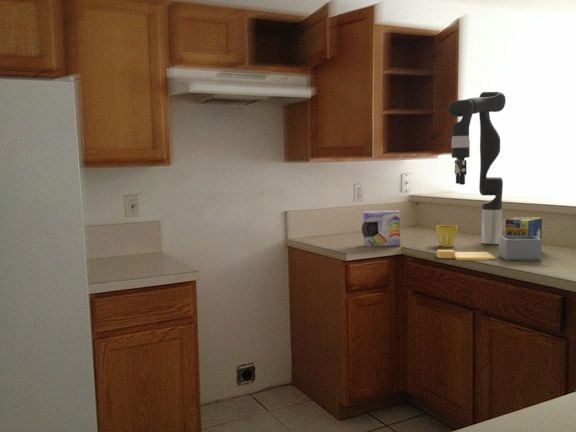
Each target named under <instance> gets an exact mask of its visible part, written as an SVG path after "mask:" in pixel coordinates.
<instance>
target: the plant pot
mask: <svg viewBox="0 0 576 432" xmlns="http://www.w3.org/2000/svg"><path fill="white" fill-rule="evenodd" d="M458 230H459V226H458V225H448V224H445V225H444V224H441V225H436V226H435V233H436V234H437V239H438V243H439V246H440V247H443V248H444V247H447V248H448V247H449V248H450V247H451V248H452V247H454V246H455V240H456V237H457V234H458Z"/></svg>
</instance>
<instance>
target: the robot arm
mask: <svg viewBox="0 0 576 432" xmlns="http://www.w3.org/2000/svg"><path fill="white" fill-rule="evenodd" d="M506 99H507V98H506V96H505V94H504V93H503V92H501V91H483V92H481V93H480V94H479V97H471V98H467V99H459V100H458V99H457V100H453V101H450V103H449V104H448V107H447V112H448V114H449V115H450V116H451V117H453V118H459V117H461V119H460V120H459V121H458V122H454V123H453V124H452V126H451V127H452V129H451V130H452V131H451V133H452V134H451V135H452V136H451V158H452V159H455V160H454V174H455V183H456V184H459V185H460V186H461V185H465V184H466V175H467V160H465V159H466V158H470V147H471V144H470V125H471V120H472V119H473V115H475V114H479V128H480V130H479V156H480V157H479V158H480V169H479V171H480V172H479V186H478V188H479V189H478V190H479V194H480V195H481V196H495V197H494V198H493V199H491V200H489V201H486V202H483V203H482V205H481V210H482V211H481V212H482V213H481V215H482V216H481V243H482V244H485V245H499V236H502V232H503V231H502V228H503V227H502V226H503V225H502V224H503V223H502V222H503V217H502V216H503V211H502V210H503V202H502V201H503V188H504V183H503V178H502V177H501V176H487V175H488V173H489V170H490V168H491V167H492V164H493V163H494V162H495V161H496V160H497V158H498V156H499V155H500V152H501V137H500V135H499V134H500V133H498V131H497V129H496V127H494V125H493V123H492V121H491V116H490V113H491V112H492V113H497V112H498V113H499V112H502V111H503V110H504V108H505V106H506Z"/></svg>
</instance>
